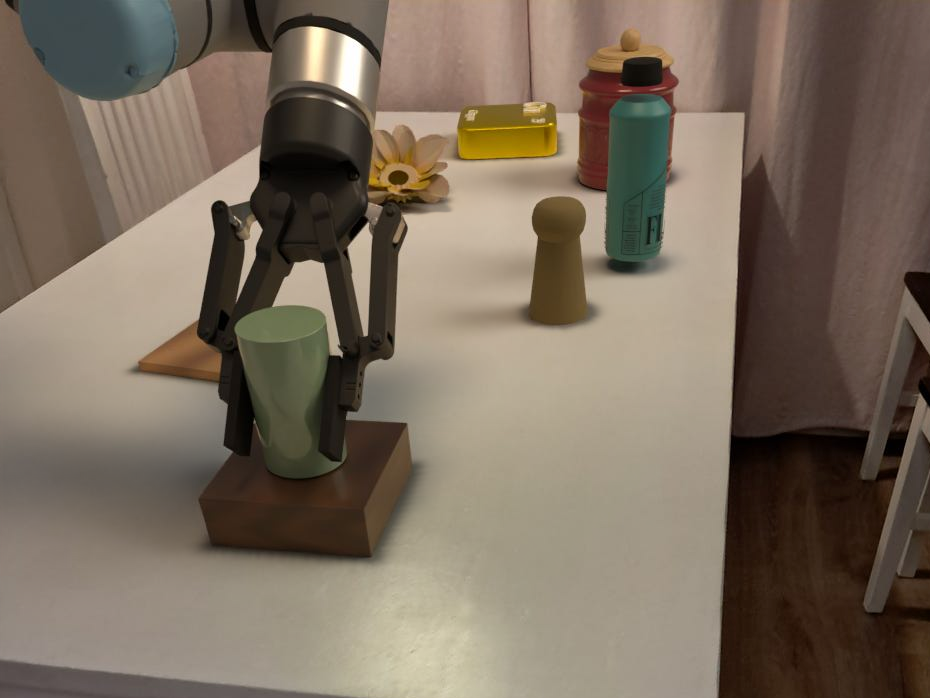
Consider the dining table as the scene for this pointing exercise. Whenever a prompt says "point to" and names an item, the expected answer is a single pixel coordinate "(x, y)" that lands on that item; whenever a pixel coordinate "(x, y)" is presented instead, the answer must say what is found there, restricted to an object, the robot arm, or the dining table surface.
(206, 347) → the wooden trivet
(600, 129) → the kitchen canister
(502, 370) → the dining table surface
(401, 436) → the walnut block
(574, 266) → the pepper shaker
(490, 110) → the element tile
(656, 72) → the beverage bottle
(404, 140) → the decorative flower
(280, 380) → the sage cup
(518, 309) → the dining table surface
